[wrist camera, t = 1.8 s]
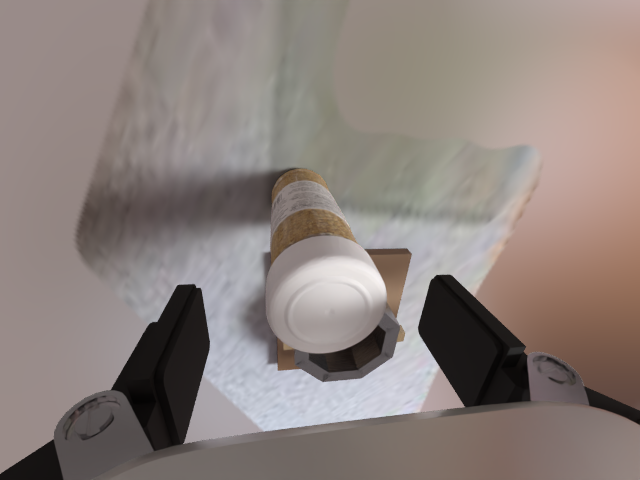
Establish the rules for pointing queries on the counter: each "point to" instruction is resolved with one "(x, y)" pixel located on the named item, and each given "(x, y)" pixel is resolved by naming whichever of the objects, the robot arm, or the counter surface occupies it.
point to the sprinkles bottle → (318, 270)
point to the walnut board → (394, 275)
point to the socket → (354, 353)
